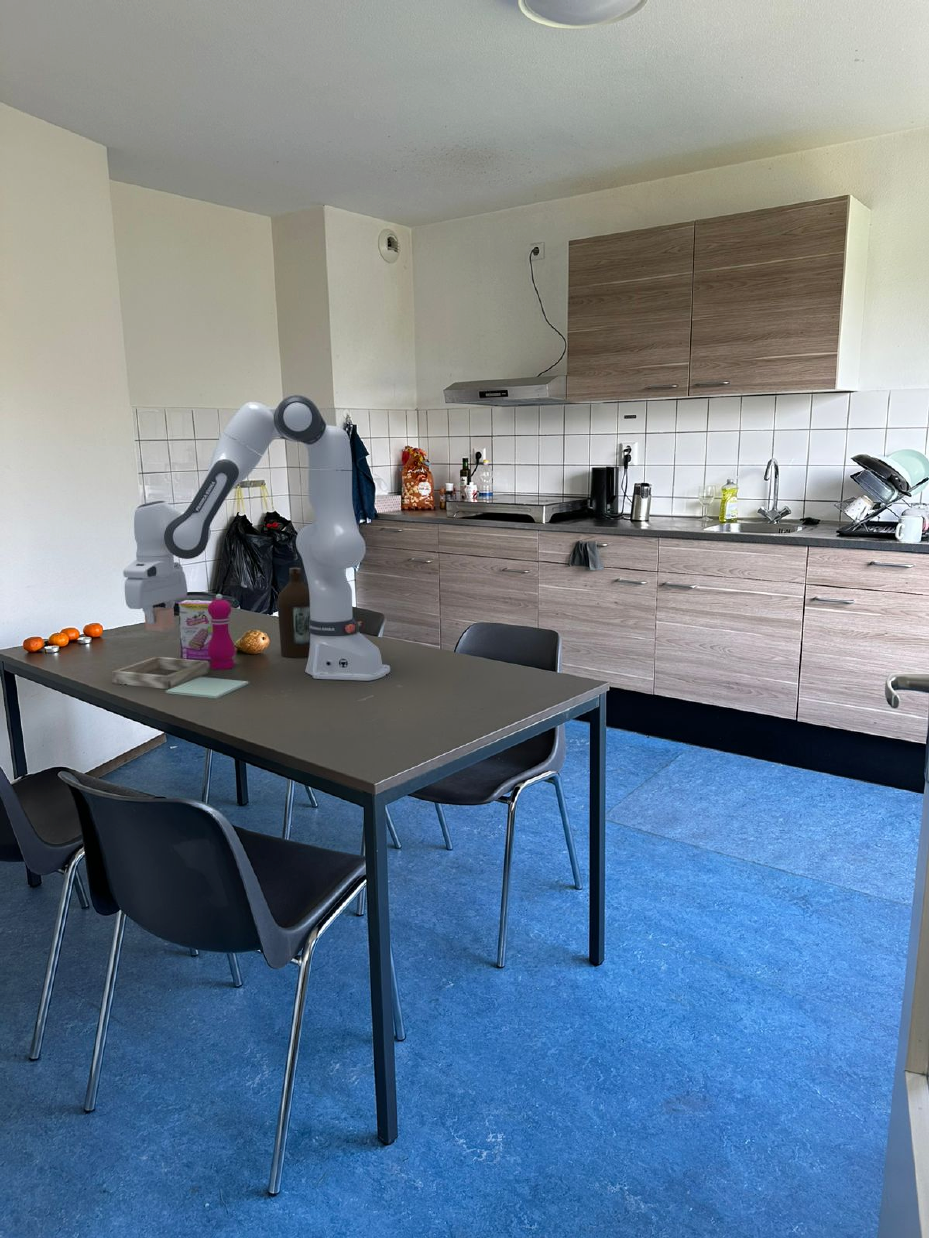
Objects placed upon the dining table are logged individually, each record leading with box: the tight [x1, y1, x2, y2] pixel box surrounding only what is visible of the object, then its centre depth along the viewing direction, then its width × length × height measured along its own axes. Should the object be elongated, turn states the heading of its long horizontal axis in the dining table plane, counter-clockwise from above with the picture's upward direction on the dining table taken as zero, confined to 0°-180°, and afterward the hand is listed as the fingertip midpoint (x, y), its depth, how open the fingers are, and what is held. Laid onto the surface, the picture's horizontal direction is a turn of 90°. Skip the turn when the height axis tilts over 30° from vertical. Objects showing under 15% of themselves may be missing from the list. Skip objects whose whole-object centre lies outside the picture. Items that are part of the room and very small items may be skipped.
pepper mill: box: [208, 593, 236, 671], centre depth 232 cm, size 7×7×20 cm
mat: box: [165, 676, 249, 699], centre depth 213 cm, size 14×14×1 cm
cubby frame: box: [111, 656, 210, 690], centre depth 222 cm, size 16×17×3 cm
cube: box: [144, 606, 176, 632], centre depth 220 cm, size 5×5×5 cm
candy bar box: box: [178, 599, 213, 662], centre depth 241 cm, size 11×5×16 cm, turn 84°
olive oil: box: [276, 567, 310, 659], centre depth 247 cm, size 11×11×25 cm
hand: (159, 620), depth 220 cm, fingers closed on cube, 5 cm apart
